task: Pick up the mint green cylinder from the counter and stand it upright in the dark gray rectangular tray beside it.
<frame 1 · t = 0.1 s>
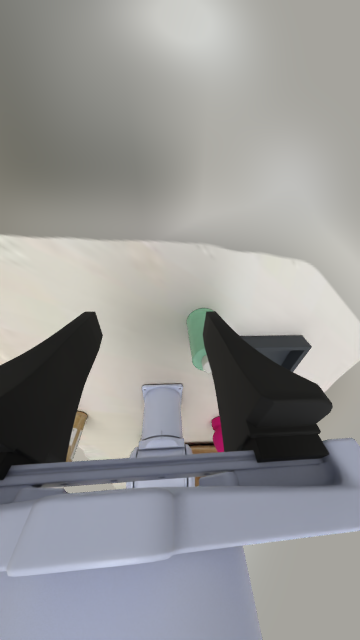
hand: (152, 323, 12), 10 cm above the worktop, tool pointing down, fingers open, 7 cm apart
pepper mill: (222, 419, 47), on the worktop
mint green cylinder: (202, 320, 25), on the worktop
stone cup: (199, 446, 61), on the worktop
dark gray rectangular tray: (254, 362, 32), on the worktop
sprinkles bottle: (77, 414, 41), on the worktop
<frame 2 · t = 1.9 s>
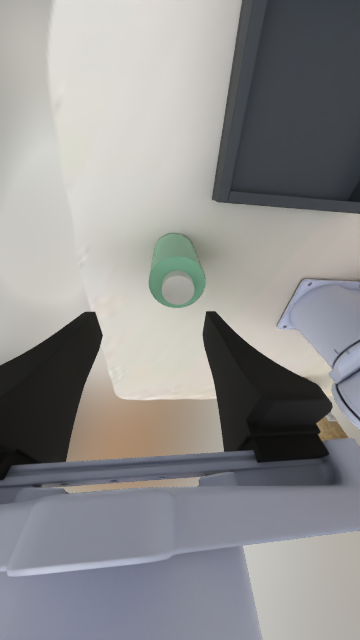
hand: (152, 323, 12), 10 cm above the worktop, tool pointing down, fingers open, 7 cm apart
mint green cylinder: (174, 255, 19), on the worktop
dark gray rectangular tray: (314, 113, 13), on the worktop
sprinkles bottle: (296, 382, 38), on the worktop
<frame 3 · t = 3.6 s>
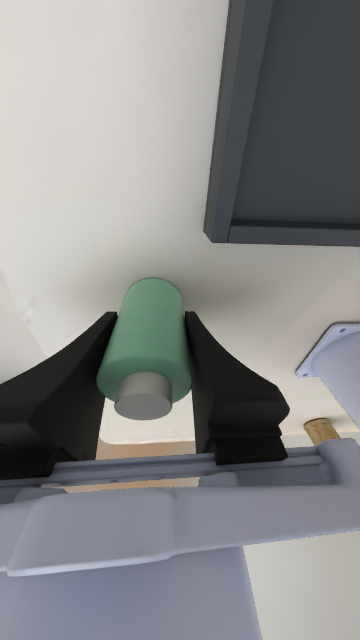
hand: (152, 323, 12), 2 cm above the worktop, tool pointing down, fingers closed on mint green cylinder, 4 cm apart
mint green cylinder: (154, 303, 13), on the worktop, touching gripper
sprinkles bottle: (315, 421, 32), on the worktop
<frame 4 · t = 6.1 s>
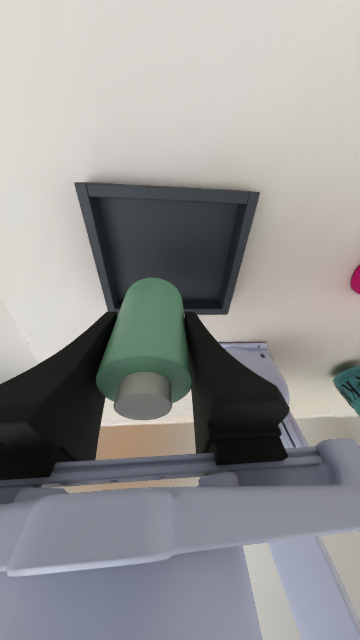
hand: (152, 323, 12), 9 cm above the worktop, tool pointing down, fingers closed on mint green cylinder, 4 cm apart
mint green cylinder: (154, 303, 13), point 7 cm above the worktop, touching gripper
dark gray rectangular tray: (169, 256, 18), on the worktop
beverage bottle: (342, 368, 34), on the worktop
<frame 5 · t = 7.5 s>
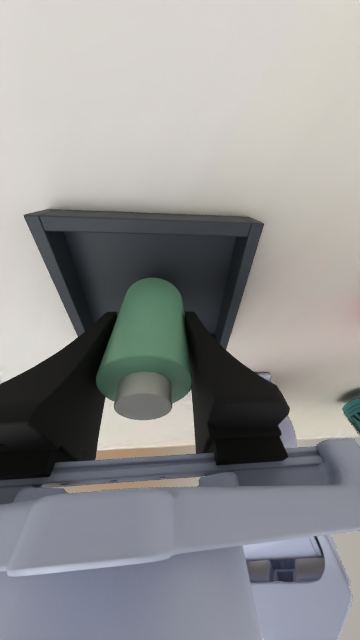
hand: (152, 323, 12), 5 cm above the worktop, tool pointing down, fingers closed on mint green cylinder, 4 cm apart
mint green cylinder: (154, 303, 13), point 2 cm above the worktop, touching gripper
dark gray rectangular tray: (156, 289, 15), on the worktop
beverage bottle: (352, 394, 31), on the worktop
when the fingers open (3 cm above the worktop, at t = 8.6 s): mint green cylinder stays where it is, resting on dark gray rectangular tray.
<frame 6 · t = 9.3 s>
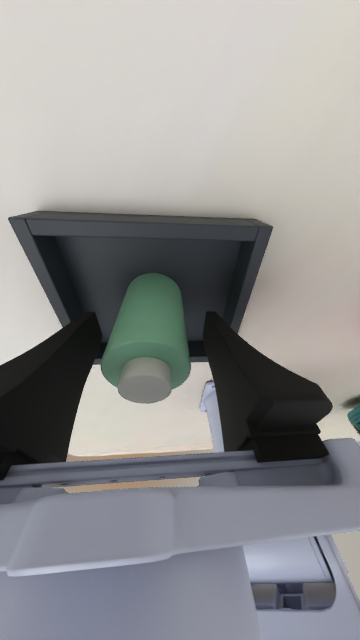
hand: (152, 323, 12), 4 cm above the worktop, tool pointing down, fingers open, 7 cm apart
mint green cylinder: (154, 298, 14), resting on dark gray rectangular tray
dark gray rectangular tray: (155, 295, 14), on the worktop
beverage bottle: (357, 400, 30), on the worktop
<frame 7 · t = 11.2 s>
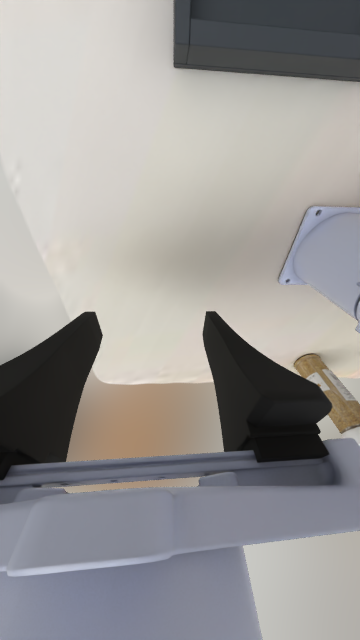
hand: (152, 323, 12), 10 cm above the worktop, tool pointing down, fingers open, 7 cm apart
sprinkles bottle: (305, 360, 32), on the worktop
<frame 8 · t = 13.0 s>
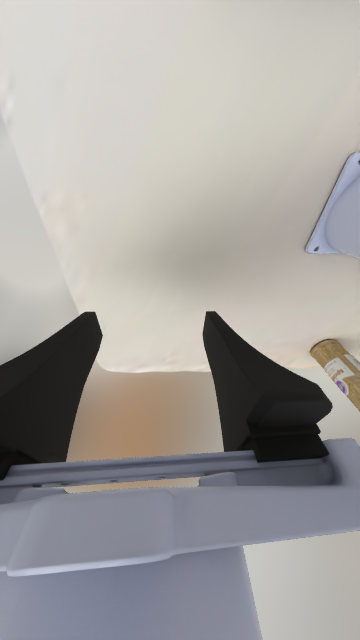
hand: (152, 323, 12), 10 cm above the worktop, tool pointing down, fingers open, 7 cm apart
sprinkles bottle: (322, 347, 30), on the worktop
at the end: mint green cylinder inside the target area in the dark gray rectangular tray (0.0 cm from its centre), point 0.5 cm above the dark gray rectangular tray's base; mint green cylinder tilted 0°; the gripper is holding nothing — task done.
